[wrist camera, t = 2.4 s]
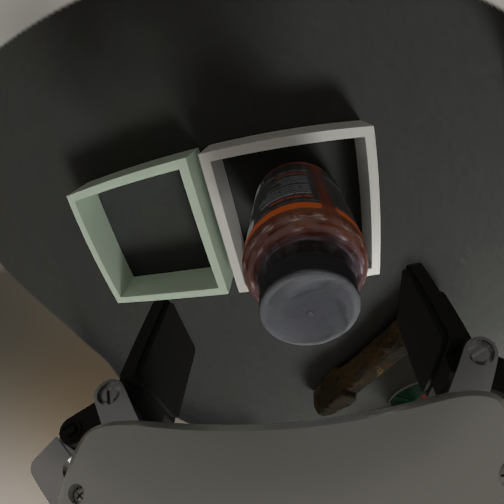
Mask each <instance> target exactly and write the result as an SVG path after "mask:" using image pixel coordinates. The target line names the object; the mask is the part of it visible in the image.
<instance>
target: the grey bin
mask: <svg viewBox="0 0 504 504" xmlns="http://www.w3.org/2000/svg"><path fill="white" fill-rule="evenodd" d="M349 138H354V140H355V148H356V157H357V166H358V177H359V188H360V202H361V218H362V236H363V238H364V241H365V244H366V248H367V252H368V261H369V263H368V264H369V265H368V271H367V276H370V275H377V274H380V196H379V178H378V164H377V152H376V142H375V133H374V126H373V125H370V124H368V123H366V122H364V121H361V120H356V121H346V122H336V123H328V124H320V125H312V126H305V127H298V128H292V129H285V130H279V131H274V132H268V133H263V134H257V135H252V136H247V137H242V138H237V139H233V140H228V141H224V142H219V143H215V144H211V145H209V146H208V147H206V148H205V149H204V150H203V151H202V152H200V153H199V154H198V156H199V160H200V163H201V167H202V170H203V174H204V177H205V181H206V184H207V188H208V191H209V195H210V198H211V202H212V205H213V208H214V212H215V215H216V219H217V222H218V225H219V229H220V232H221V235H222V239H223V242H224V245H225V248H226V252H227V255H228V258H229V261H230V265H231V268H232V271H233V274H234V278H235V281H236V284H237V287H238V290H239V293H240V292H249V290H248V288H247V286H246V283H245V280H244V275H243V270H242V259H243V252H244V248H245V243H244V239H243V235H242V232H241V228H240V224H239V220H238V216H237V213H236V209H235V205H234V201H233V197H232V194H231V190H230V186H229V182H228V178H227V175H226V171H225V167H224V163H223V159H225V158H230V157H234V156H239V155H244V154H249V153H255V152H260V151H265V150H271V149H277V148H283V147H289V146H295V145H302V144H309V143H316V142H324V141H331V140H340V139H349Z"/></svg>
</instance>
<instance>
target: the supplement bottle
mask: <svg viewBox="0 0 504 504" xmlns="http://www.w3.org/2000/svg"><path fill="white" fill-rule="evenodd" d="M368 263H369V261H368V252H367V248H366V244H365V241H364V238H363V236H362V234H361V232H360V230H359V227H358V225H357V223H356V221H355V219H354V217H353V215H352V213H351V211H350V209H349V207H348V205H347V203H346V201H345V199H344V197H343V195H342V193H341V192H340V189H339V188H338V186H337V184H336V183H335V181H334V180H333V179H332V177H331V176H330V175H329V174H328V173H327V172H326V171H324V170H323V169H321V168H320V167H318V166H316V165H313V164H310V163H306V162H290V163H285V164H283V165H280V166H278V167H276V168H274V169H273V170H271V171H270V172H269V173H268V174H267V175H266V176H265V177H264V178H263V180H262V181H261V183H260V185H259V187H258V189H257V192H256V195H255V200H254V205H253V209H252V214H251V219H250V223H249V228H248V232H247V238H246V242H245V248H244V252H243V259H242V270H243V275H244V280H245V283H246V286H247V288H248V290H249V292H250V293H251V295H252V296H253V297H254V298H255V299H256V301H257V302H259V316H260V319H261V322H262V324H263V326H264V327H265V328H266V330H267V331H268V332H269V333H270V334H272V335H273V336H274V337H276V338H278V339H280V340H282V341H285V342H287V343H291V344H296V345H317V344H322V343H326V342H328V341H330V340H333V339H335V338H337V337H339V336H341V335H342V334H343V333H345V332H346V331H348V330H349V329H350V328H351V327H352V325H353V324H354V322H355V321H356V320H357V318H358V315H359V313H360V307H361V299H360V294H359V291H360V289H361V287H362V286H363V284H364V282H365V279H366V276H367V271H368V265H369V264H368Z"/></svg>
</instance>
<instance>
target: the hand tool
mask: <svg viewBox="0 0 504 504" xmlns="http://www.w3.org/2000/svg"><path fill="white" fill-rule="evenodd" d="M407 354H408V352H407V349H406V347H405V344H404V342H403V339H402V336H401V334H400V331H399V329H398V326H397V319H396V320H395V321H394V322H393V323H392V324H391V325H390V326H389V327H388V328H387V329H386V330H384V331H383V332H382V333H381V334H380V335H379V336H377V337H375V338H374V339H373V341H372V342H371V343H370V344H369V345H368V346H366V347H365V348H364V349H363V350H362V351H361V352H360V353H359V354H357V355H356V356H355V357H354V358H352V359H351V360H350V361H349V362H348V363H346V364H345V365H344V366H336V367H334V368H333V369H332V370H331V371H330V372H329V373H328V374H327V375H326V376H325V377H324V378H323V380H322V381H321V382H320V384H319V385H318V386H317V388H316V389H315V391H314V406H315V409H316V411H317V413H318V414H320V415H322V416H326V415H332V414H334V413H336V412H337V411H338V410H341V409H343V408H345V407H348V406H349V405H351V404H352V403H353V402H354V401H355V400H356V394H357V393H358V392H359V391H360V390H362V389H363V388H364V387H365V386H366V385H368V384H369V383H371V382H372V381H373V380H375V379H376V378H377V377H379V376H380V375H382V374H383V373H384V372H386V371H387V370H388V369H389V368H391V367H392V366H393V365H394V364H396V363H397V362H398V361H399V360H400V359H402V358H403V357H404V356H405V355H407Z"/></svg>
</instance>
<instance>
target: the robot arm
mask: <svg viewBox="0 0 504 504" xmlns="http://www.w3.org/2000/svg"><path fill="white" fill-rule="evenodd" d="M397 326H398V329H399V331H400V334H401V336H402V339H403V342H404V344H405V347H406V349H407V352H408V355H409V358H410V360H411V363H412V366H413V369H414V372H415V375H416V377H417V380H418V383H419V386H420V389H421V391H422V392H423V391H425V393H426V396H427V398H424V399H420V400H416V401H412V402H408V403H404V404H400V405H396V406H391V407H386V408H382V409H377V410H372V411H367V412H362V413H357V414H351V415H345V416H338V417H332V418H324V419H316V420H308V421H298V422H287V423H272V424H250V425H204V424H182V423H174V421H175V417H178V416H179V413H180V409H181V405H182V401H183V397H184V393H185V389H186V385H187V381H188V377H189V374H190V370H191V366H192V362H193V358H194V354H195V347H194V344H193V342H192V340H191V338H190V336H189V334H188V332H187V330H186V328H185V326H184V324H183V322H182V320H181V318H180V316H179V314H178V312H177V310H176V308H175V306H174V304H173V303H170V302H169V301H168V300H161V301H155V302H154V303H153V304H152V307H151V309H150V311H149V313H148V315H147V317H146V319H145V321H144V323H143V325H142V328H141V330H140V332H139V334H138V336H137V338H136V340H135V343H134V345H133V347H132V349H131V351H130V354H129V356H128V358H127V360H126V363H125V365H124V367H123V370H122V372H121V374H120V376H121V377H120V380H116V379H110V380H107V381H105V382H103V383H102V384H100V385H99V387H98V388H97V389H96V391H95V394H94V403H93V404H91V405H90V406H88V407H86V408H85V409H83V410H82V411H80V412H78V413H77V414H75V415H74V416H72V417H70V418H69V419H67V420H66V421H65V422H64V423H63V425H62V426H61V428H60V433H59V434H60V438H59V439H58V438H57V437H56V438H55V439H54V440H53V441H52V442H51V443H50V444H49V445H48V446H47V447H46V448H45V449H44V450H43V451H42V452H41V453H40V454H39V455H38V456H37V457H36V458H35V459H34V461H33V462H32V465H31V473H32V475H33V477H34V479H35V481H36V482H37V484H38V486H39V487H40V489H41V491H42V492H43V494H44V495H45V497H46V498H47V500H48V501H49V503H50V504H504V359H503V358H500V357H498V353H499V352H498V349H497V347H496V345H495V344H494V342H492V341H491V340H490V339H488V338H486V337H481V336H479V337H474V338H471V337H470V335H469V333H468V332H467V330H466V328H465V326H464V324H463V323H462V321H461V319H460V318H459V316H458V314H457V313H456V311H455V309H454V308H453V306H452V304H451V303H450V301H449V300H448V298H447V296H446V295H445V294H444V292H442V291H441V292H440V291H439V289H438V288H437V286H436V285H435V283H434V282H433V280H432V279H431V277H430V275H429V274H428V273H427V271H426V270H425V268H424V267H423V265H422V264H421V263H416V264H410V265H407V267H406V269H404V270H403V271H402V280H401V290H400V298H399V306H398V314H397ZM434 395H436V396H434ZM431 396H432V397H431Z"/></svg>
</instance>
